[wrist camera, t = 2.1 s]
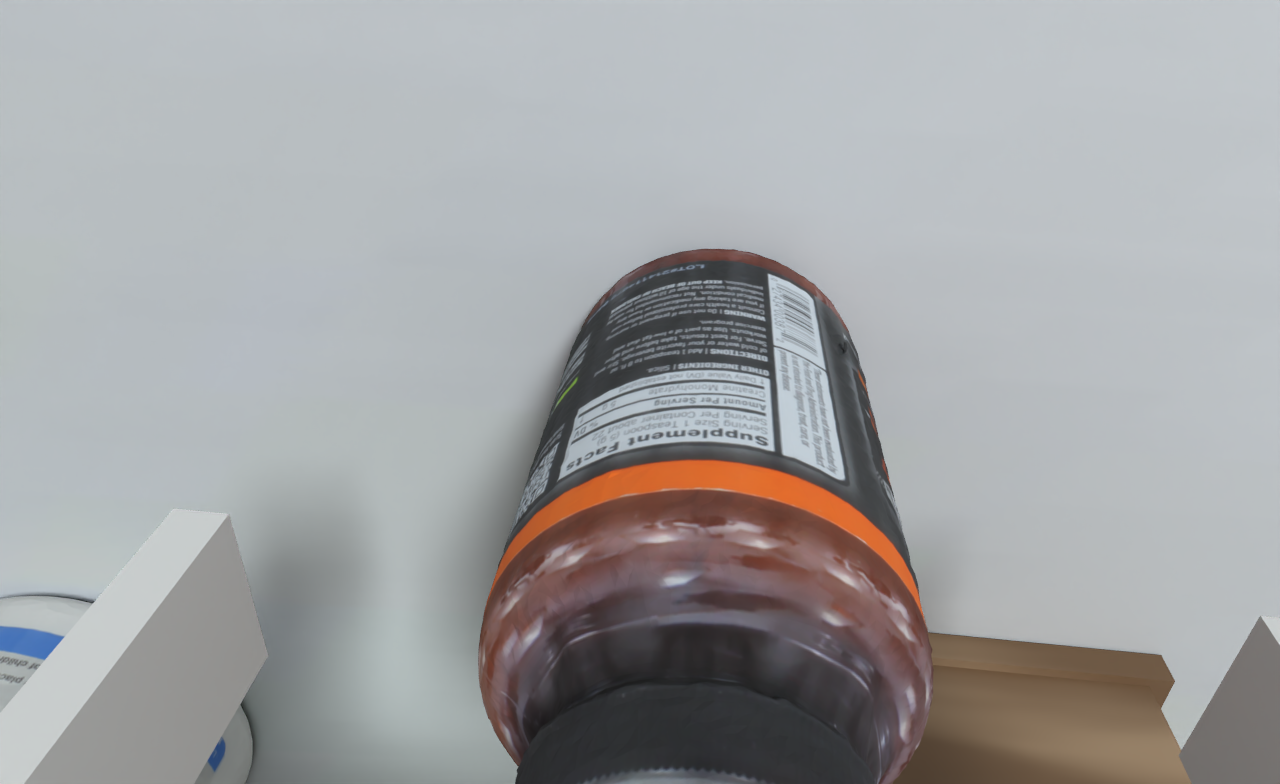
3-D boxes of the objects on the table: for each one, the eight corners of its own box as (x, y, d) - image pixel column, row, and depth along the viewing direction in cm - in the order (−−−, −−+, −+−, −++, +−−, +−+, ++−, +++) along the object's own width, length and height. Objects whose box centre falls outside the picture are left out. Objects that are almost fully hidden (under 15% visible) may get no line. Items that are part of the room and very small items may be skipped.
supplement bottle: (840, 490, 20) (934, 1082, 10) (578, 475, 20) (437, 1027, 11) (878, 240, 17) (1064, 754, 7) (568, 229, 17) (357, 697, 8)
